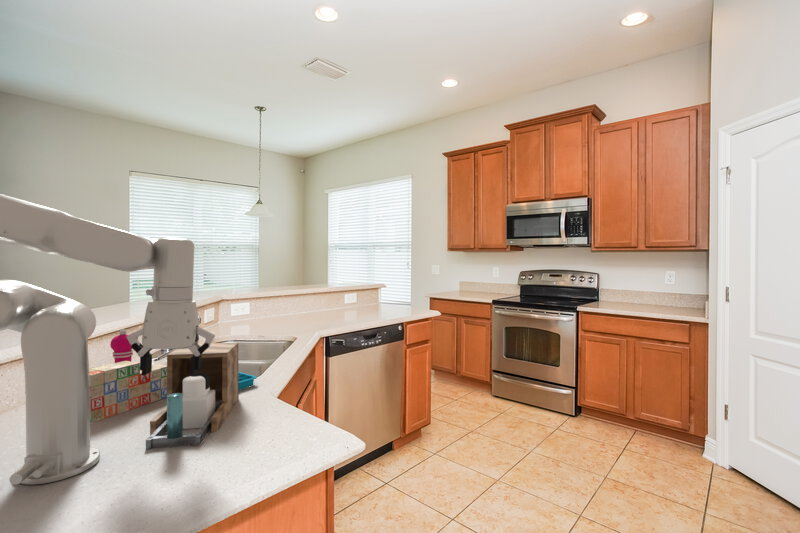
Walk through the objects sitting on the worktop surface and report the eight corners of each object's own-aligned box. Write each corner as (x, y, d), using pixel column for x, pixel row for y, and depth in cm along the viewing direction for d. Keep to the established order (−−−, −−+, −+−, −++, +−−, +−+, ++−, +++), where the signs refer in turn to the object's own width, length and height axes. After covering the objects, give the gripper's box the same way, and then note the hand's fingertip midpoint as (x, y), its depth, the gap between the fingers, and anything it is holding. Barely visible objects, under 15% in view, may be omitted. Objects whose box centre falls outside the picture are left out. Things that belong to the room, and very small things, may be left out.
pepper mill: (142, 395, 119) (142, 328, 119) (115, 402, 113) (114, 332, 113) (130, 391, 123) (130, 326, 123) (103, 398, 117) (103, 329, 117)
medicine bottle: (186, 418, 103) (185, 371, 102) (215, 416, 104) (215, 370, 104) (175, 430, 96) (175, 380, 95) (207, 428, 97) (207, 378, 97)
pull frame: (199, 446, 87) (198, 396, 87) (144, 450, 85) (144, 399, 85) (221, 414, 105) (221, 372, 105) (176, 417, 103) (176, 374, 103)
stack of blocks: (157, 393, 122) (157, 353, 121) (171, 396, 119) (171, 355, 119) (76, 419, 102) (75, 371, 102) (90, 423, 100) (90, 374, 99)
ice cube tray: (221, 375, 141) (221, 367, 141) (258, 386, 130) (258, 376, 130) (189, 384, 131) (189, 375, 131) (226, 396, 120) (226, 386, 120)
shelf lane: (216, 432, 94) (216, 362, 94) (150, 436, 92) (149, 365, 92) (238, 398, 117) (238, 342, 117) (185, 401, 115) (185, 344, 114)
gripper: (120, 295, 82) (117, 379, 82) (210, 297, 85) (208, 377, 85) (137, 292, 89) (135, 369, 89) (220, 294, 92) (217, 368, 92)
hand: (170, 373), depth 87 cm, fingers open, 9 cm apart
